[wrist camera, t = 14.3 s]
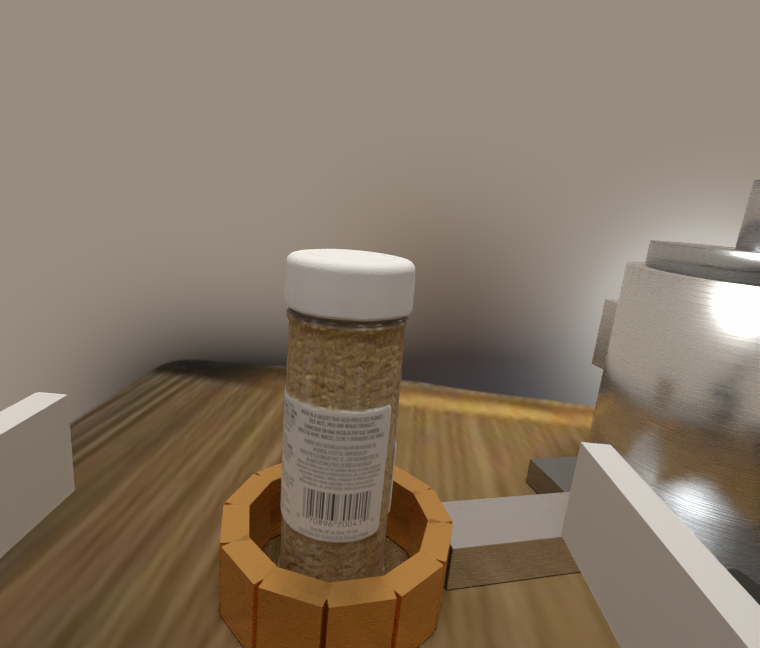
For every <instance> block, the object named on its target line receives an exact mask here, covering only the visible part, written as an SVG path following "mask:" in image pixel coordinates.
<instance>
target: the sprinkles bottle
mask: <svg viewBox="0 0 760 648" xmlns="http://www.w3.org/2000/svg"><path fill="white" fill-rule="evenodd" d="M414 286H415V266H414V264H413V263H412V262H411V261H409V260H407V259H405V258H401V257H397V256H392V255H387V254H382V253H375V252H367V251H358V250H345V249H311V250H300V251H295V252H292V253H291V254H289V256H288V257H287V261H286V274H285V297H284V298H285V299H284V300H285V303H286V305H287V306H288V307H289V309H287V311H286V313H287V317H288V319H289V337H288V358H287V382H286V384H285V395H284V425H283V451H282V477H281V513H282V523H281V550H280V557H279V560H278V564H277V567H279V568H282V569H285V570H289V571H292V572H295V573H299V574H302V575H306V576H309V577H312V578H316V579H319V580H322V581H326V582H329V583H330V582H338V581H346V580H354V579H362V578H371V577H379V576H384V575H385V567H384V557H383V556H384V548H385V537H386V530H387V517H388V513H389V512H390V506H391V497H392V487H393V477H394V466H395V456H396V439H395V435H396V426H397V418H398V406H399V395H400V394H399V390H400V382H401V367H402V358H403V347H404V331H405V326H406V325H407V324H408V320H409V319H408V318H407V315H408V314H410V313H411V311H412V309H413V298H414Z"/></svg>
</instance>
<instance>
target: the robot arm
mask: <svg viewBox="0 0 760 648" xmlns="http://www.w3.org/2000/svg"><path fill="white" fill-rule="evenodd" d="M74 490H75V489H74V476H73V462H72V449H71V435H70V422H69V408H68V395H64V394H52V393H43V392H37V393H34V394H33V395H31V396H29V397H27V398H25V399H23V400H21V401H20V402H18V403H16V404H14V405H12V406H10V407H9V408H7V409H5V410H3V411H1V412H0V558H1V557H2V556H3V555H4V554H5V553H6V552H8V551H9V550H10V549H11V548H12V547H13V546H14V545H15V544H16V543H17V542H18V541H20V540H21V539H22V538H23V537H24V536H25V535H26V534H27V533H28V532H29V531H31V530H32V529H33V528H34V527H35V526H36V525H37V524H38V523H39V522H40V521H42V520H43V519H44V518H45V517H46V516H47V515H48V514H49V513H50V512H51V511H52V510H54V509H55V508H56V507H57V506H58V505H59V504H60V503H61V502H62V501H63V500H65V499H66V498H67V497H68V496H69V495H70V494H71V493H72V492H73V491H74ZM561 535H562V537H563V539H564V541H565V543H566V545H567V547H568V549H569V551H570V553H571V555H572V556H573V558H574V560H575V562H576V564H577V566H578V568H579V570H580V572H581V574H582V575H583V577H584V579H585V581H586V583H587V585H588V587H589V589H590V591H591V593H592V595H593V596H594V598H595V600H596V602H597V604H598V606H599V608H600V610H601V612H602V614H603V615H604V617H605V619H606V621H607V623H608V625H609V627H610V629H611V631H612V633H613V634H614V636H615V638H616V640H617V642H618V644H619V646H620V648H760V585H759V584H757V583H756V582H755V581H753V580H752V579H750V578H749V577H747V576H746V575H745V574H743V573H742V572H740V571H739V570H735V569H726V568H725V567H724V566H723V565H722V564H721V563H720V562H719V561H718V560H717V559H716V558H715V557H714V556H713V554H712V553H711V552H710V551H709V550H708V549H707V548H706V547H705V546H704V545H703V544H702V543H701V542H700V540H699V539H698V538H697V537H696V536H695V535H694V534H693V533H692V532H691V531H690V530H689V529H688V528H687V526H686V525H685V524H684V523H683V522H682V521H681V520H680V519H679V518H678V517H677V516H676V515H675V514H674V512H673V511H672V510H671V509H670V508H669V507H668V506H667V505H666V504H665V503H664V502H663V501H662V500H661V498H660V497H659V496H658V495H657V494H656V493H655V492H654V491H653V490H652V489H651V488H650V487H649V486H648V484H647V483H646V482H645V481H644V480H643V479H642V478H641V477H640V476H639V475H638V474H637V473H636V472H635V470H634V469H633V468H632V467H631V466H630V465H629V464H628V463H627V462H626V461H625V460H624V459H623V458H622V456H621V455H620V454H619V453H618V452H617V451H616V450H615V449H614V448H613V447H612V446H611V445H608V444H597V443H586V442H581V444H580V448H579V453H578V458H577V462H576V467H575V472H574V476H573V481H572V485H571V490H570V495H569V499H568V504H567V509H566V513H565V518H564V523H563V527H562V532H561Z"/></svg>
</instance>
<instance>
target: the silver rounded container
mask: <svg viewBox="0 0 760 648" xmlns="http://www.w3.org/2000/svg"><path fill="white" fill-rule="evenodd" d="M592 364H594V365H596V366H598V367H600V368H602V369H603V374H602V379H601V383H600V387H599V392H598V397H597V401H596V406H595V410H594V415H593V419H592V424H591V428H590V433H589V438H588V442H587V443H597V444H608V445H611V446H612V447H613V448H614V449H615V450H616V451H617V452H618V453H619V454H620V455H621V456H622V458H623V459H624V460H625V461H626V462H627V463H628V464H629V465H630V466H631V467H632V468H633V469H634V470H635V472H636V473H637V474H638V475H639V476H640V477H641V478H642V479H643V480H644V481H645V482H646V483H647V484H648V486H649V487H650V488H651V489H652V490H653V491H654V492H655V493H656V494H657V495H658V496H659V497H660V498H661V500H662V501H663V502H664V503H665V504H666V505H667V506H668V507H669V508H670V509H671V510H672V511H673V512H674V514H675V515H676V516H677V517H678V518H679V519H680V520H681V521H682V522H683V523H684V524H685V525H686V526H687V528H688V529H689V530H690V531H691V532H692V533H693V534H694V535H695V536H696V537H697V538H698V539H699V540H700V542H701V543H702V544H703V545H704V546H705V547H706V548H707V549H708V550H709V551H710V552H711V553H712V554H713V556H714V557H715V558H716V559H717V560H718V561H719V562H720V563H721V564H722V565H723V566H724V567H725V568H726V569H735V570H739V571H740V572H742V573H743V574H745V575H746V576H747V577H749V578H750V579H752V580H753V581H755V582H756V583H757V584H759V585H760V180H754V182H753V185H752V189H751V193H750V196H749V200H748V204H747V207H746V211H745V215H744V218H743V222H742V226H741V229H740V233H739V237H738V240H737V244H736V248H732V247H722V246H712V245H702V244H691V243H681V242H669V241H654V240H653V241H652V240H651V241H650V245H649V249H648V253H647V258H646V262H628V263H627V265H626V269H625V274H624V278H623V283H622V287H621V292H620V296H619V300H608V299H607V300H605V303H604V308H603V313H602V317H601V322H600V327H599V332H598V336H597V341H596V346H595V350H594V355H593V360H592ZM577 458H578V456H571V457H554V458H537V459H530V464H529V469H528V474H527V480H526V482H527V483H528V484H529V485H530V486H531V487H532V488H533V489H534V490H535V491H536V492H537V493H538V494H537V495H525V496H513V497H501V498H488V499H476V500H464V501H452V502H441V501H440V500H439V498H438V496H437V495H436V493H435V491H434V490H430V489H431V487H430V486H428V485H426V484H425V483H423V482H422V481H420V480H418V479H417V478H415V477H413V476H412V475H410V474H408V473H407V472H405V471H403V470H402V469H400V468H399V467H397V466H394V477H393V487H392V497H391V506H390V512H389V513H388V517H387V530H386V536H388V537H389V538H390V539H392V540H393V541H394V542H396V543H397V544H398V545H399V546H401V547H402V548H403V549H405V550H406V551H407V553H408V556H409V559H408V560H406V561H405V562H403V563H402V564H400V565H399V566H398V567H396V568H395V569H393V570H392V571H390V572H389V573H387V574H386V575H384V576H379V577H371V578H362V579H354V580H346V581H338V582H330V583H329V582H326V581H322V580H319V579H316V578H312V577H309V576H306V575H302V574H299V573H295V572H292V571H289V570H285V569H282V568H279V567H277V566H276V565H275V564H274V563H273V562H272V561H271V560H270V559H269V558H268V557H267V556H266V554H265V553H264V552H263V551H262V549H263V547H264V546H265V545H266V543H267V542H268V541H269V539H271V538H273V537H275V536H277V535H279V534H281V523H282V513H281V477H282V463H280V464H278V465H275V466H272V467H269V468H267V469H264V470H261V471H259V472H257V475H255V474H253V475H252V476H251V477H250V478H249V479H248V480H247V481H246V482H245V483H244V484H243V485H242V486H241V487H240V488H239V489H238V490H237V491H236V492H235V493H234V494H233V495H232V496H231V497H230V498H229V499H228V500H227V501H226V502H225V505H224V506H223V517H222V528H221V539H220V603H219V612H220V611H221V617H222V618H223V620H224V621H225V623H226V624H227V625H228V627H229V628H230V629H231V631H232V632H233V634H234V635H235V636H236V638H237V639H238V641H239V642H240V643H241V645H242V646H243V647H244V648H417V647H419V646H420V645H421V644H422V643H423V642H424V641H425V640H426V639H428V638H429V637H430V636H431V635H432V634H433V633H434V629H436V626H437V621H438V615H439V610H440V605H441V599H442V594H443V589H444V585H445V587H446V589H447V590H449V589H456V588H464V587H471V586H478V585H486V584H493V583H501V582H508V581H515V580H523V579H530V578H538V577H545V576H552V575H560V574H567V573H575V572H580V570H579V568H578V566H577V564H576V562H575V560H574V558H573V556H572V555H571V553H570V551H569V549H568V547H567V545H566V543H565V541H564V539H563V537H562V535H561V532H562V527H563V523H564V518H565V513H566V509H567V504H568V499H569V495H570V490H571V485H572V481H573V476H574V472H575V467H576V462H577Z"/></svg>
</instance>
